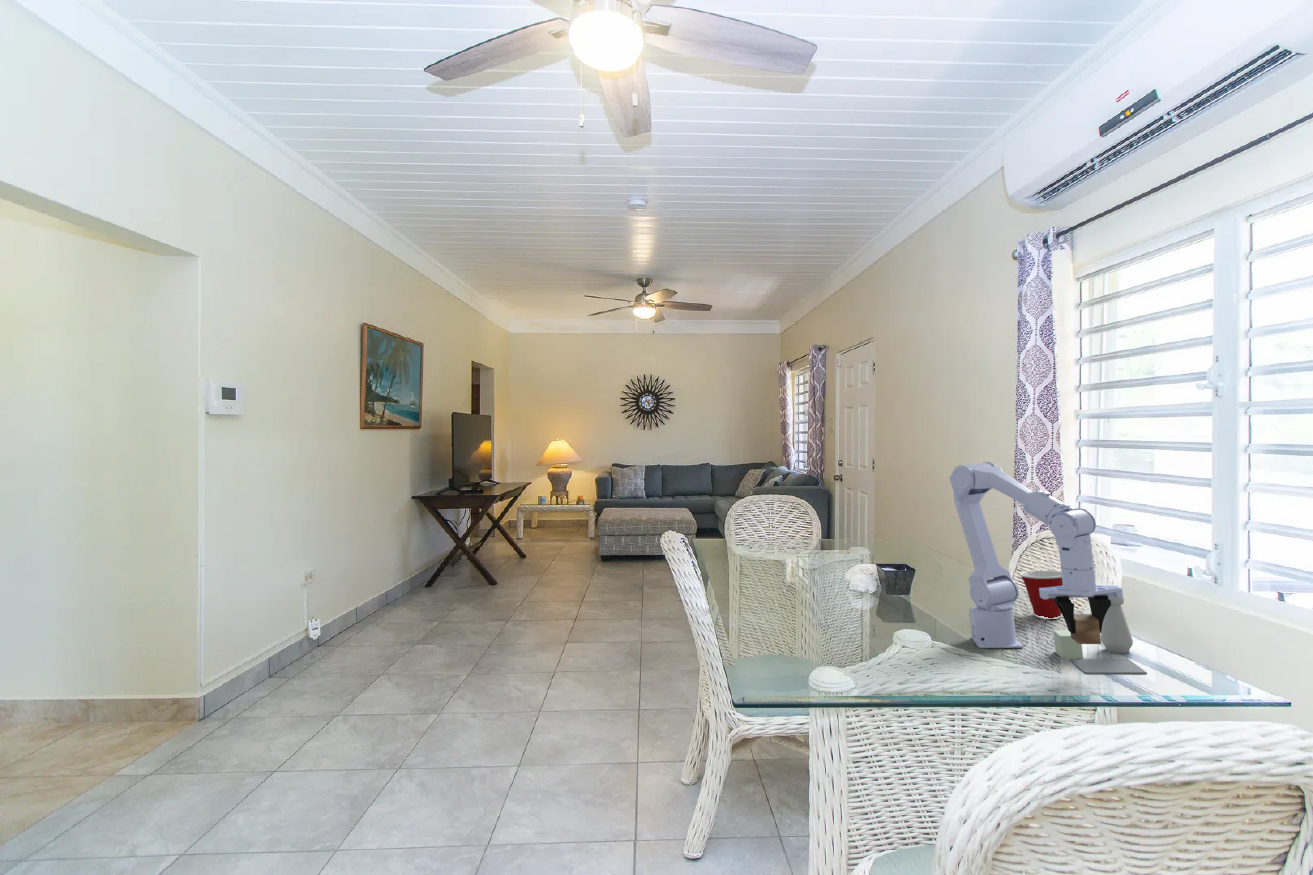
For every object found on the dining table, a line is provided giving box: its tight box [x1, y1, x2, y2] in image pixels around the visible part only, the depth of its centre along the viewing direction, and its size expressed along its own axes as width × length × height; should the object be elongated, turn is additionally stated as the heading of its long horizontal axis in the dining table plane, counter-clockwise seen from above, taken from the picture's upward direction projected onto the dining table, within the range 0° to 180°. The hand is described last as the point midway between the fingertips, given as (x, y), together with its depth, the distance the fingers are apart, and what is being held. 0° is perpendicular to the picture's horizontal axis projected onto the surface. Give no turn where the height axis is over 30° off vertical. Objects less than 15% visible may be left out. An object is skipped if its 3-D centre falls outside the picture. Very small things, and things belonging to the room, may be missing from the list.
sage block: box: [1053, 629, 1084, 659], centre depth 133 cm, size 4×4×5 cm
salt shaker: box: [1100, 596, 1134, 655], centre depth 133 cm, size 6×6×13 cm
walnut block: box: [1070, 613, 1102, 645], centre depth 124 cm, size 4×4×5 cm
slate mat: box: [1069, 658, 1148, 675], centre depth 125 cm, size 11×8×1 cm
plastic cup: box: [1019, 570, 1063, 618], centre depth 159 cm, size 11×11×12 cm
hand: (1084, 631), depth 124 cm, fingers closed on walnut block, 4 cm apart
